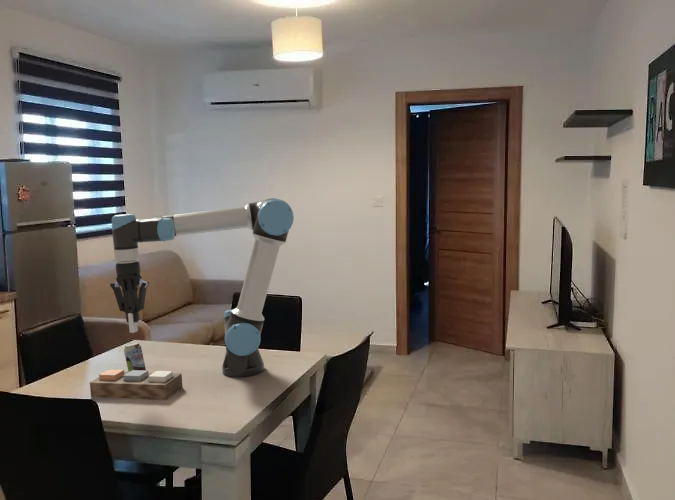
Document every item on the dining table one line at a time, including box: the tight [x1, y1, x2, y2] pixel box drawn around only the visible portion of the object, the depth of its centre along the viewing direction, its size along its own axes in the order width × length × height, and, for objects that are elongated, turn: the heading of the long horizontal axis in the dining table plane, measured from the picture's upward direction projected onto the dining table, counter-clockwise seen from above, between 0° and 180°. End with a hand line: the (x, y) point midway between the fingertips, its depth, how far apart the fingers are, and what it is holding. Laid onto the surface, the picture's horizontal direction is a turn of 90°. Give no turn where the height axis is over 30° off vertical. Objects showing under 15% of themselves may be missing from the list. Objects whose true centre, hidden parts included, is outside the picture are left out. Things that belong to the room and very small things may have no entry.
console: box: [89, 371, 184, 401], centre depth 213 cm, size 27×12×5 cm, turn 78°
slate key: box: [123, 369, 149, 381], centre depth 213 cm, size 6×6×4 cm
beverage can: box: [123, 342, 147, 372], centre depth 231 cm, size 6×7×12 cm
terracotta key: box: [98, 369, 125, 380], centre depth 215 cm, size 6×6×4 cm
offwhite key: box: [148, 370, 174, 382], centre depth 211 cm, size 6×6×4 cm
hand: (133, 331), depth 211 cm, fingers closed
